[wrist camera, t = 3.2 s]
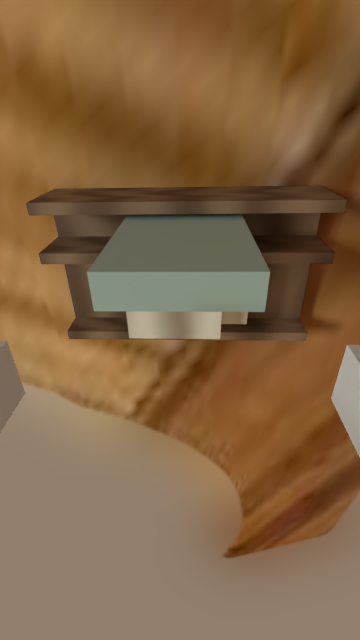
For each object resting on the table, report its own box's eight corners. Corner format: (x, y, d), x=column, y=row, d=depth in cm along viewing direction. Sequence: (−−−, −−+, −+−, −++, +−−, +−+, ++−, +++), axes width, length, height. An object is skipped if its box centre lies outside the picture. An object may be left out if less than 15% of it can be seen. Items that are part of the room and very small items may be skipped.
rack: (81, 318, 40) (63, 349, 35) (54, 188, 33) (25, 203, 27) (294, 319, 39) (311, 351, 34) (320, 185, 31) (347, 199, 26)
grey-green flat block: (135, 232, 33) (93, 311, 19) (133, 206, 32) (86, 272, 18) (235, 231, 33) (264, 312, 19) (237, 205, 31) (270, 271, 18)
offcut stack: (129, 308, 38) (119, 338, 32) (123, 258, 34) (111, 282, 29) (243, 309, 37) (251, 339, 32) (248, 257, 34) (257, 282, 29)
